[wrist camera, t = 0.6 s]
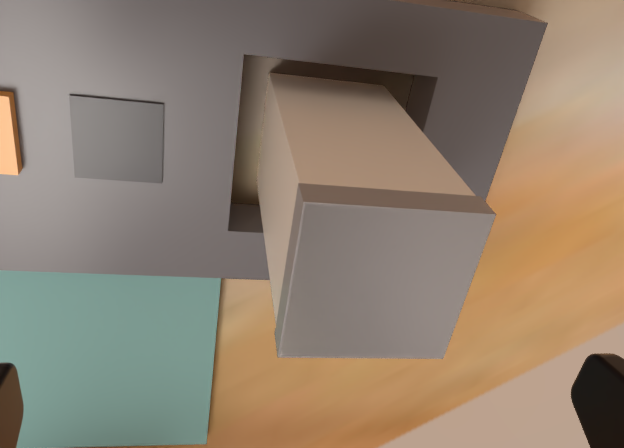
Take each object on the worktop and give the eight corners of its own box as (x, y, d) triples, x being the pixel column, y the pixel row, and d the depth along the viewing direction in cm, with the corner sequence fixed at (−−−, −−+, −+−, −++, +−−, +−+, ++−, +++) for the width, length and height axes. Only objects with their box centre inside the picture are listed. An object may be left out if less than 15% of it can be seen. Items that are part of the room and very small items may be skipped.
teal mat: (206, 435, 27) (206, 444, 27) (-19, 440, 25) (-23, 449, 25) (221, 268, 22) (221, 276, 22) (-58, 257, 20) (-64, 265, 20)
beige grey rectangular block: (361, 189, 21) (443, 358, 14) (254, 181, 20) (277, 357, 13) (385, 84, 19) (496, 214, 12) (267, 70, 18) (303, 201, 11)
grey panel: (438, 257, 23) (459, 293, 21) (-32, 235, 20) (-60, 275, 18) (517, 10, 18) (554, 25, 16) (-90, -80, 15) (-138, -75, 13)
